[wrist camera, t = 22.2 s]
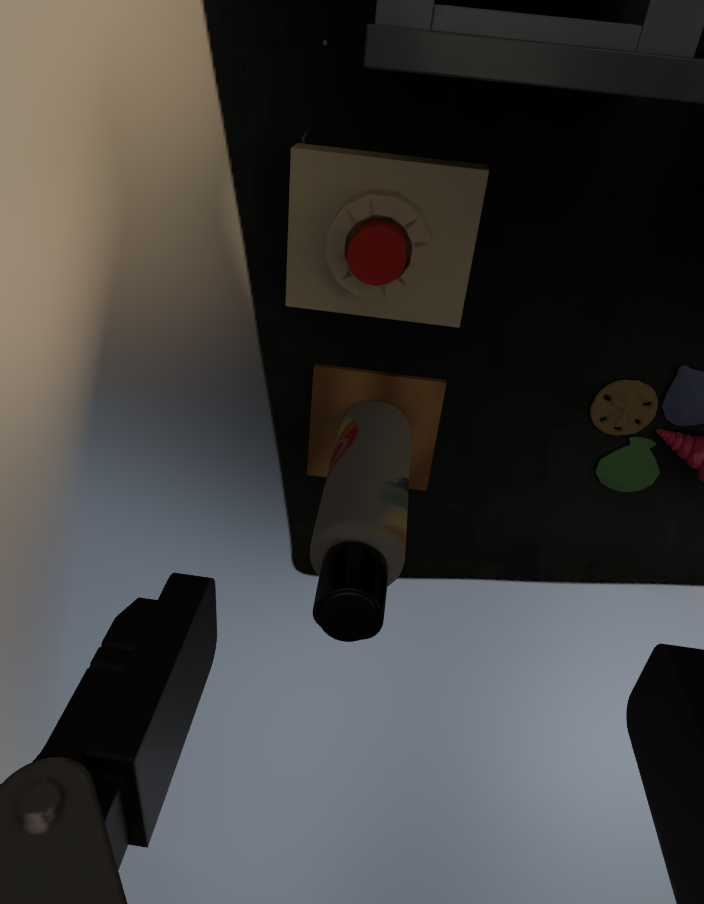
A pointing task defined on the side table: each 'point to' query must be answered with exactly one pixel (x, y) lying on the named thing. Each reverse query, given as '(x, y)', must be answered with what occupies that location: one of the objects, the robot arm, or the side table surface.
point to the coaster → (353, 386)
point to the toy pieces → (684, 405)
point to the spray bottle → (362, 521)
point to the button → (377, 252)
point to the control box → (392, 199)
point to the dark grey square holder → (547, 46)
